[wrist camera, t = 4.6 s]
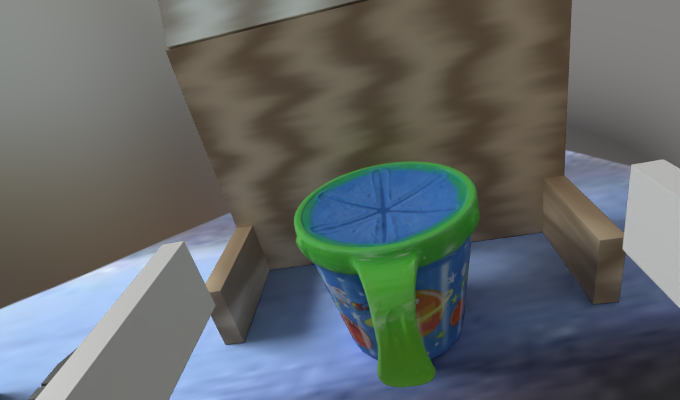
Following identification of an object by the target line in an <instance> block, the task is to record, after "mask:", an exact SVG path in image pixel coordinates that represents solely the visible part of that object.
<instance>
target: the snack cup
mask: <svg viewBox="0 0 680 400" xmlns="http://www.w3.org/2000/svg"><path fill="white" fill-rule="evenodd" d="M479 217H480V214H479V207H478V196H477V190H476V187H475V185H474V183H473V182H472V181H471V179H470V178H469V177H468V176H466V175H465V174H463V173H462V172H460V171H458V170H456V169H454V168H451V167H448V166H445V165H441V164H436V163H429V162H415V161H409V162H393V163H386V164H380V165H375V166H370V167H366V168H362V169H359V170H356V171H353V172H350V173H347V174H344V175H342V176H339V177H337V178H335V179H333V180H331V181H329V182H327V183H325V184H324V185H322V186H321V187H319V188H317V189H316V190H315V191H313V192H312V193H311V194H310V195H309V196H307V197H306V198H305V199H304V200H303V202H302V203H301V204H300V206H299V207H298V209H297V211H296V213H295V217H294V226H295V231H296V235H297V239H296V243H297V245H298V247H299V249H300V250H301V251H302V253H303V254H304V255H305V256H306V257H307V259H309V260H311V261H312V262H313V263H314V264H315V265H316V267H317V270H318V272H319V274H320V276H321V277H322V279H323V281H324V283H325V286H326V287H327V289H328V291H329V293H330V295H331V296H332V299H333V301H334V303H335V305H336V307H337V308H338V309H339V311H340V314H341V316H342V318H343V320H344V322H345V324H346V326H347V328H348V330H349V332H350V334H351V335H352V338H353V339H354V341H355V342H356V343H357V345H358V346H359V347H360V349H361V350H362V351H363V352H365V353H367V354H368V355H370V356H372V357H373V358H375V359H377V360H378V366H377V373H378V377H379V379H380V380H381V381H382V382H383V383H384V384H386V385H389V386H394V387H407V386H417V385H422V384H425V383H427V382H430V381H432V379H433V378H434V377H435V373H436V369H435V367H434V366H433V364H432V362H431V360H430V359H432V358H435V357H437V356H439V355H441V354H442V353H444V352H445V351H446V350H448V349H449V348H450V346H451V345H452V344H453V342H454V341H457V340H458V338H459V335H460V333H461V329H462V323H463V319H464V312H465V296H466V289H467V279H468V269H469V257H470V247H471V238H470V237H471V234H472V233H473V232H474V230H475V228H476V227H477V225H478V222H479Z"/></svg>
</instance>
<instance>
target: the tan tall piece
mask: <svg viewBox="0 0 680 400" xmlns="http://www.w3.org/2000/svg"><path fill="white" fill-rule="evenodd" d="M158 2H159V7H160V13H161V18H162V24H163V29H164V35H165V40H166V45H167V48H169V49H170V50H166V53H167V55H168V58H169V60H170V63H171V65H172V68H173V70H174V73H175V75H176V78H177V80H178V83H179V85H180V88H181V90H182V93H183V95H184V97H185V100H186V103H187V105H188V107H189V110H190V112H191V115H192V117H193V120H194V122H195V125H196V127H197V130H198V132H199V135H200V137H201V140H202V142H203V145H204V147H205V150H206V152H207V155H208V157H209V160H210V162H211V165H212V167H213V170H214V172H215V174H216V177H217V180H218V182H219V185H220V187H221V190H222V192H223V195H224V197H225V200H226V202H227V205H228V207H229V209H230V212H231V214H232V217H233V219H234V222H235V224H236V227H237V228H236V230H235V232H234V234H233V235H232V237H231V239H230V241H229V243H228V244H227V246H226V248H225V250H224V252H223V253H222V255H221V257H220V259H219V261H218V262H217V264H216V266H215V268H214V270H213V271H212V273H211V275H210V277H209V278H208V280H207V282H206V284H205V285H206V287H207V289H208V291H209V293H210V295H211V297H212V299H213V301H214V303H215V305H216V306H215V308H214V310H213V312H212V314H211V317H212V319H213V321H214V323H215V325H216V327H217V329H218V331H219V333H220V335H221V337H222V339H223V341H224V343H225V344H234V343H244V341H245V339H246V336H247V333H248V330H249V327H250V324H251V322H252V319H253V316H254V313H255V310H256V308H257V305H258V302H259V299H260V296H261V294H262V291H263V288H264V285H265V282H266V280H267V277H268V274H269V271H270V270H274V269H281V268H289V267H296V266H303V265H310V264H314V263H313V262H312V261H311V260H309V259H307V257H306V256H305V255H304V254H303V253H302V251H301V250H300V249H299V247H298V245H297V243H296V239H297V235H296V231H295V226H294V217H295V213H296V211H297V209H298V207H299V206H300V204H301V203H302V202H303V200H304V199H305V198H306V197H307V196H309V195H310V194H311V193H312V192H313V191H315V190H316V189H317V188H319V187H321V186H322V185H324V184H325V183H327V182H329V181H331V180H333V179H335V178H337V177H339V176H342V175H344V174H347V173H350V172H353V171H356V170H359V169H362V168H366V167H370V166H375V165H380V164H386V163H393V162H409V161H415V162H429V163H436V164H441V165H445V166H448V167H451V168H454V169H456V170H458V171H460V172H462V173H463V174H465V175H466V176H468V177H469V178H470V179H471V181H472V182H473V183H474V185H475V187H476V190H477V196H478V207H479V214H480V217H479V222H478V225H477V227H476V228H475V230H474V232H473V233H472V234H471V237H470V238H471V242H475V241H482V240H490V239H497V238H504V237H511V236H518V235H525V234H533V233H540V232H543V233H544V235H545V236H546V238H547V239H548V240H549V242H550V243H551V245H552V246H553V248H554V249H555V250H556V252H557V253H558V255H559V256H560V258H561V259H562V260H563V262H564V263H565V265H566V266H567V267H568V269H569V270H570V272H571V273H572V275H573V276H574V277H575V279H576V280H577V282H578V283H579V284H580V286H581V287H582V289H583V290H584V292H585V293H586V294H587V296H588V297H589V299H590V300H591V302H592V303H593V304H601V303H610V302H619V297H620V290H621V283H622V275H623V268H624V261H625V253H626V252H625V251H624V250H623V249H622V248H623V239H624V233H623V232H622V231H621V230H620V229H619V228H618V227H617V226H616V225H615V224H614V223H613V222H612V221H611V220H610V219H609V218H608V217H607V216H606V215H605V214H604V213H603V212H602V211H601V210H600V209H599V208H598V207H596V206H595V205H594V204H593V203H592V202H591V201H590V200H589V199H588V198H587V197H586V196H585V195H584V194H583V193H582V192H581V191H580V190H579V189H578V188H577V187H576V186H575V185H574V184H573V183H572V182H571V181H570V180H569V179H568V178H566V177H565V176H564V168H565V144H566V121H567V98H568V76H569V51H570V30H571V29H570V28H571V8H572V7H571V6H572V0H158Z"/></svg>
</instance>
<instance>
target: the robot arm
mask: <svg viewBox="0 0 680 400" xmlns="http://www.w3.org/2000/svg"><path fill="white" fill-rule="evenodd" d="M622 249H623V250H624V251H625V252H626V253H627V255H628V256H629V257H630V258H631V259H632V260H633V261H634V262H635V263H636V264H637V265H638V266H639V267H640V268H641V269H642V270H643V271H644V272H645V273H646V274H647V275H648V276H649V277H650V278H651V279H652V280H653V281H654V282H655V283H656V284H657V285H658V286H659V287H660V288H661V289H662V290H663V291H664V292H665V293H666V295H667V296H668V297H669V298H670V299H671V300H672V301H673V302H674V303H675V304H676V305H677V306H678V307H679V308H680V169H679V168H678V167H676V166H674V165H672V164H671V163H669V162H667V161H665V160H657V161H652V162H645V163H640V164H634V165H631V175H630V184H629V193H628V202H627V211H626V221H625V230H624V239H623V248H622ZM215 306H216V305H215V303H214V301H213V299H212V297H211V295H210V293H209V291H208V289H207V287H206V285H205V283H204V281H203V279H202V277H201V275H200V273H199V271H198V269H197V267H196V265H195V263H194V261H193V258H192V256H191V254H190V252H189V250H188V248H187V246H186V244H185V242H184V241H181V242H175V243H169V244H164V245H162V246H161V247H160V248H159V250H158V251H157V252H156V253H155V254H154V256H153V257H152V258H151V259H150V261H149V262H148V263H147V264H146V265H145V267H144V268H143V269H142V270H141V271H140V273H139V274H138V275H137V276H136V278H135V279H134V280H133V281H132V282H131V284H130V285H129V286H128V287H127V288H126V290H125V291H124V292H123V293H122V295H121V296H120V297H119V298H118V299H117V301H116V302H115V303H114V304H113V306H112V307H111V308H110V309H109V310H108V312H107V313H106V314H105V315H104V316H103V318H102V319H101V320H100V321H99V323H98V324H97V325H96V326H95V327H94V329H93V330H92V331H91V332H90V333H89V335H88V336H87V337H86V338H85V340H84V341H83V342H82V343H81V344H80V346H79V347H78V348H77V349H76V350H74V351H73V352H72V353H71V354H70V355H68V356H67V357H66V358H65V359H64V360H63V361H61V362H60V363H59V364H58V365H57V366H56V367H55V368H54V369H53V371H52V372H51V373H50V374H49V375H48V377H47V378H46V379H45V380H44V381H43V383H42V384H41V385H42V386H41V388H38V389H37V390H36V391H35V392H34V393H33V394H32V396H31V397H30V398H29V399H28V400H169V399H170V396H171V394H172V392H173V390H174V388H175V386H176V384H177V382H178V380H179V378H180V376H181V374H182V372H183V370H184V368H185V366H186V364H187V362H188V360H189V358H190V356H191V354H192V352H193V350H194V348H195V346H196V344H197V342H198V340H199V338H200V336H201V334H202V332H203V330H204V328H205V326H206V324H207V322H208V320H209V318H210V316H211V314H212V312H213V310H214V308H215Z"/></svg>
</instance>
